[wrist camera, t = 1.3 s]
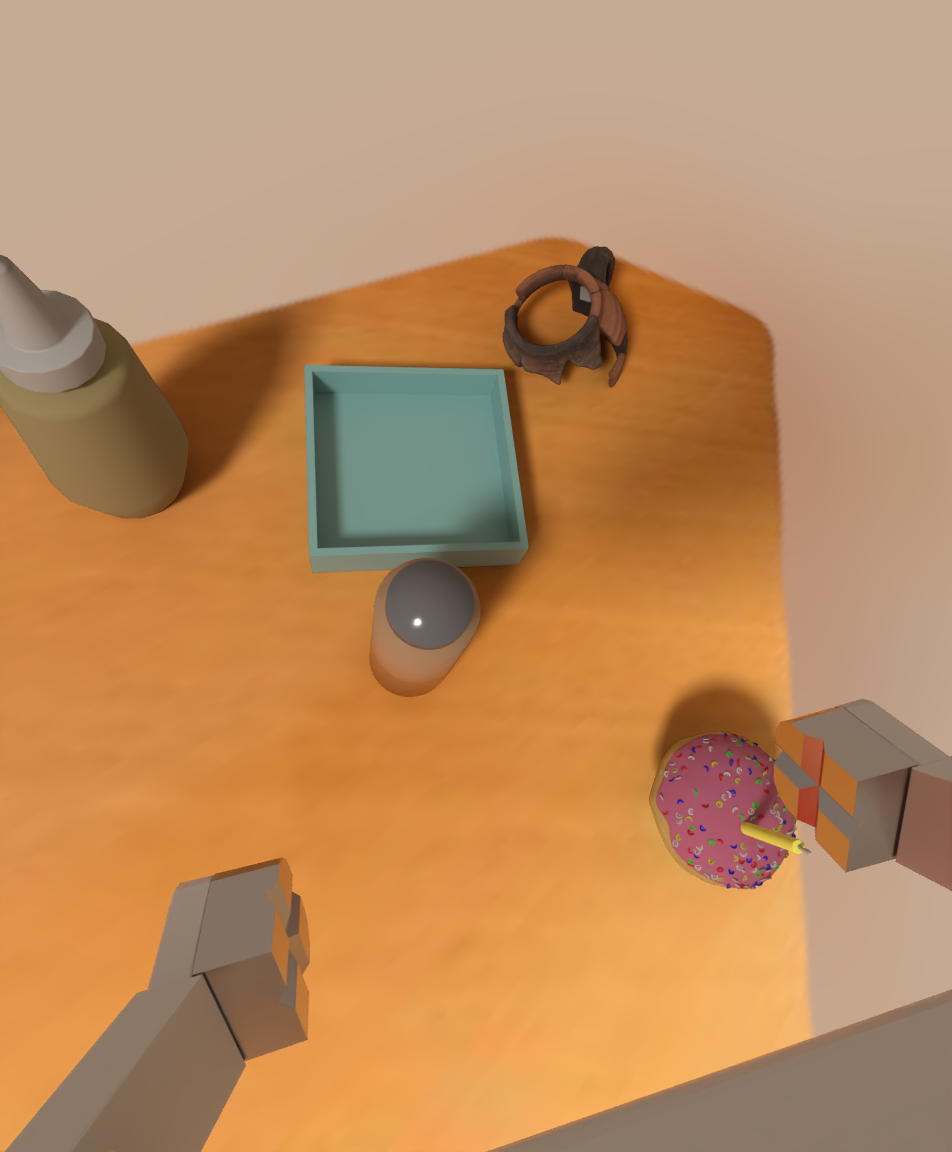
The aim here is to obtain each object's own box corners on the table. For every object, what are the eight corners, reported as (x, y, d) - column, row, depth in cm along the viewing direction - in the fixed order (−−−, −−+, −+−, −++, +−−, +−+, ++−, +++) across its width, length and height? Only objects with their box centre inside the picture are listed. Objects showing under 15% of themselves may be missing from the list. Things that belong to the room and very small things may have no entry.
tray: (312, 572, 42) (309, 556, 40) (307, 391, 47) (304, 364, 44) (518, 564, 45) (528, 548, 42) (495, 393, 50) (503, 369, 47)
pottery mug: (615, 424, 51) (597, 370, 44) (507, 408, 55) (474, 356, 47) (655, 289, 53) (645, 215, 45) (547, 282, 56) (521, 213, 49)
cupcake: (750, 885, 41) (900, 915, 29) (622, 873, 39) (727, 899, 28) (744, 745, 44) (877, 725, 32) (624, 730, 42) (720, 703, 31)
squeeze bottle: (126, 405, 44) (-12, 160, 27) (227, 465, 44) (150, 255, 27) (39, 494, 41) (-177, 278, 24) (148, 559, 41) (5, 387, 24)
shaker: (371, 699, 40) (378, 659, 29) (367, 619, 42) (372, 552, 31) (453, 693, 41) (490, 651, 30) (446, 615, 43) (478, 548, 32)
